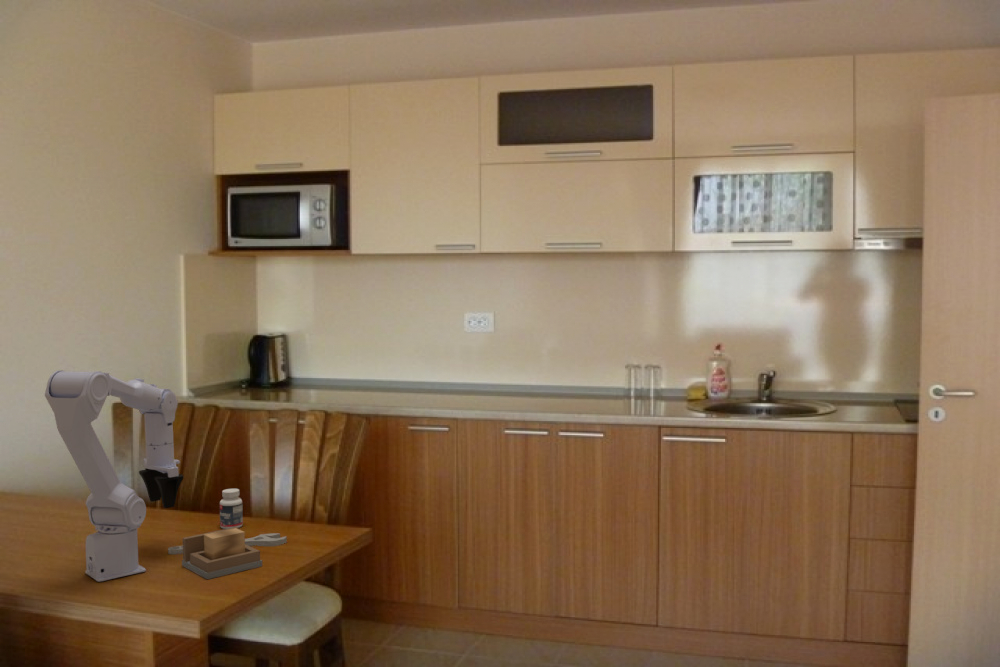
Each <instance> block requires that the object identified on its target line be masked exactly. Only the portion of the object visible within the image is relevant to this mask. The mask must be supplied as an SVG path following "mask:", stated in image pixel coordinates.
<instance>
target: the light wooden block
mask: <svg viewBox="0 0 1000 667" xmlns="http://www.w3.org/2000/svg"><path fill="white" fill-rule="evenodd" d="M223 530H224V529H223ZM245 536H246V532H245V531H243V530H241V529H240V528H239V529H237V528H234V529H229V530H224V531H220V532H215V533H210V534H205V535H204V554H205V558H207V559H209V560H214V559H219V558H223V557H228V556H232V555H236V554H241V553H245V539H246V537H245Z"/></svg>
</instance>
